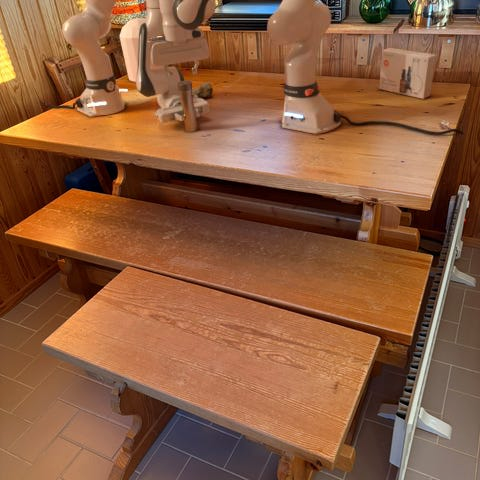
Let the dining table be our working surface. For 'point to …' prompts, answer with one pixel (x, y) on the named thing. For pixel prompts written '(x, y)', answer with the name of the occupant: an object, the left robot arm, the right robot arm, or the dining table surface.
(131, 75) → the container
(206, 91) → the rock
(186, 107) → the brown cylinder
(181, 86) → the lid
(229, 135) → the dining table surface
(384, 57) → the skincare box
